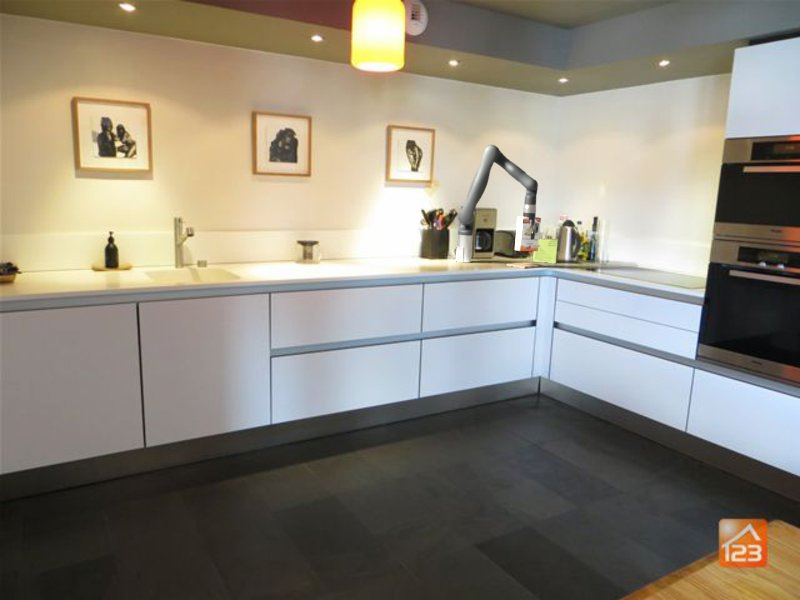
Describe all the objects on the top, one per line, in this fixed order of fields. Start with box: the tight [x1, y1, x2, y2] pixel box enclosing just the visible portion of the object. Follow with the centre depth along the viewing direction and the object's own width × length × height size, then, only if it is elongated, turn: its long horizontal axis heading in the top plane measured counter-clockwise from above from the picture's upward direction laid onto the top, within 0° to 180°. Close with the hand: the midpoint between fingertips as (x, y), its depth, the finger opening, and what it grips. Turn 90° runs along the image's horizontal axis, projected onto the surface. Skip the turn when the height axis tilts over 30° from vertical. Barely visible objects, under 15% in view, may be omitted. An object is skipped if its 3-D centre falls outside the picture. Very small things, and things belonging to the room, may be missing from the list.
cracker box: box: [514, 216, 542, 252], centre depth 358 cm, size 14×6×21 cm, turn 115°
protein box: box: [532, 237, 559, 264], centre depth 392 cm, size 10×15×16 cm
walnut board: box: [505, 262, 545, 269], centre depth 361 cm, size 20×14×1 cm
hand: (527, 239), depth 359 cm, fingers closed on cracker box, 6 cm apart
